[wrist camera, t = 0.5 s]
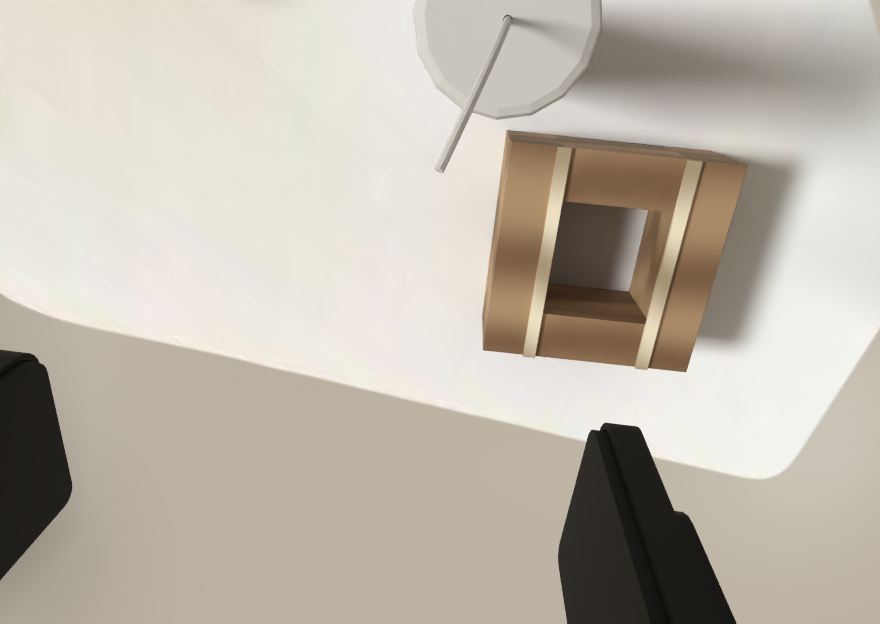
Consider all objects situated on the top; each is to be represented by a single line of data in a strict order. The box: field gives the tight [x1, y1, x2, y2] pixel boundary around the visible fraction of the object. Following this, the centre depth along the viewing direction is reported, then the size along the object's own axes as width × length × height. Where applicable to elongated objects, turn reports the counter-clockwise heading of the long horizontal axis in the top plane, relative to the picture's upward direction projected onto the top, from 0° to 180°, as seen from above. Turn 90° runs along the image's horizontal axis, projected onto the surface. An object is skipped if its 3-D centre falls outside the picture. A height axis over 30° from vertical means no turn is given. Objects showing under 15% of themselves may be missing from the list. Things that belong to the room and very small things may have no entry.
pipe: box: [413, 0, 602, 173], centre depth 25 cm, size 6×6×30 cm
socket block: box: [482, 130, 747, 372], centre depth 40 cm, size 14×14×6 cm
